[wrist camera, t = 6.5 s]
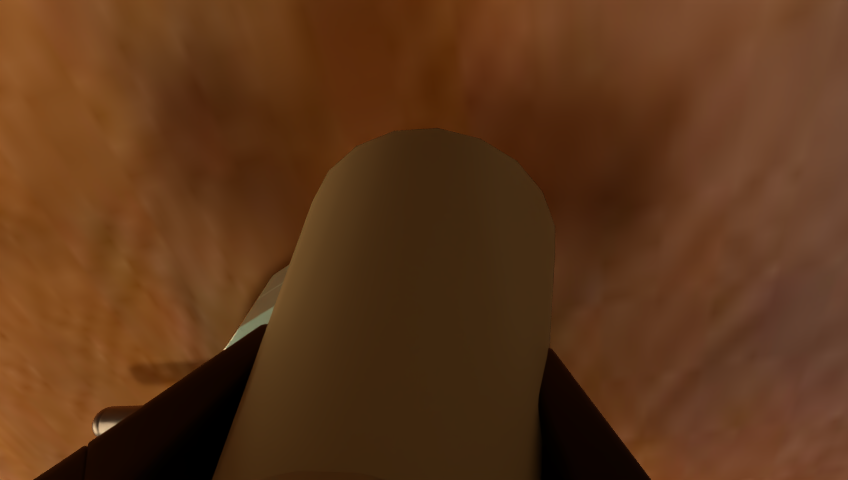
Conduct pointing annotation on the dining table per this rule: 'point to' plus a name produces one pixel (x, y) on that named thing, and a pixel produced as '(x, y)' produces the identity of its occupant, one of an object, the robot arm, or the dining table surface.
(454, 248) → the tan gourd shape
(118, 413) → the pan handle
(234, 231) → the dining table surface
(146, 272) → the dining table surface
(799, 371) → the dining table surface
